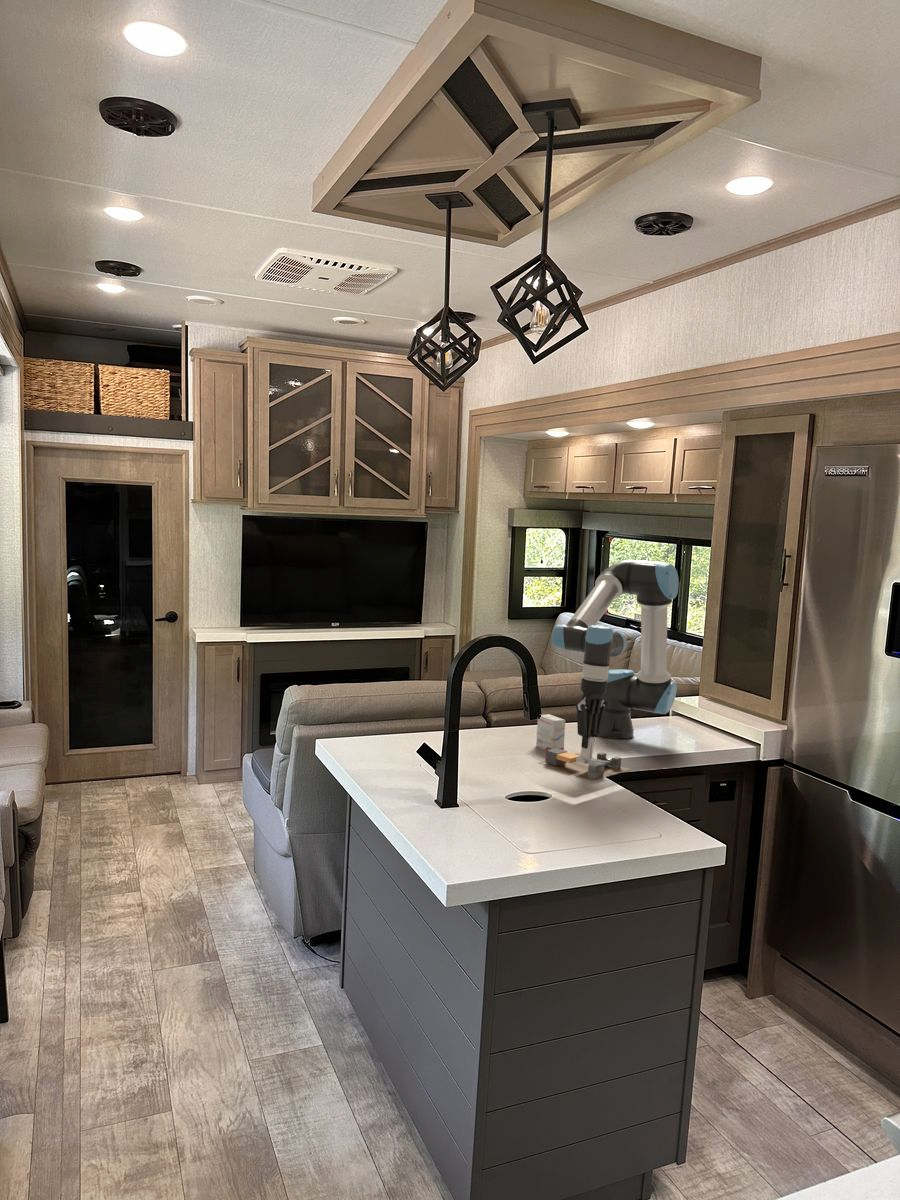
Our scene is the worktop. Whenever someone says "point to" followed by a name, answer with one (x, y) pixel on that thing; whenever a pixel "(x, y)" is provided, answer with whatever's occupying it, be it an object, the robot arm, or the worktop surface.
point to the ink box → (550, 732)
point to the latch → (560, 757)
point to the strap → (595, 761)
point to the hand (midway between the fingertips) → (586, 758)
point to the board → (583, 769)
